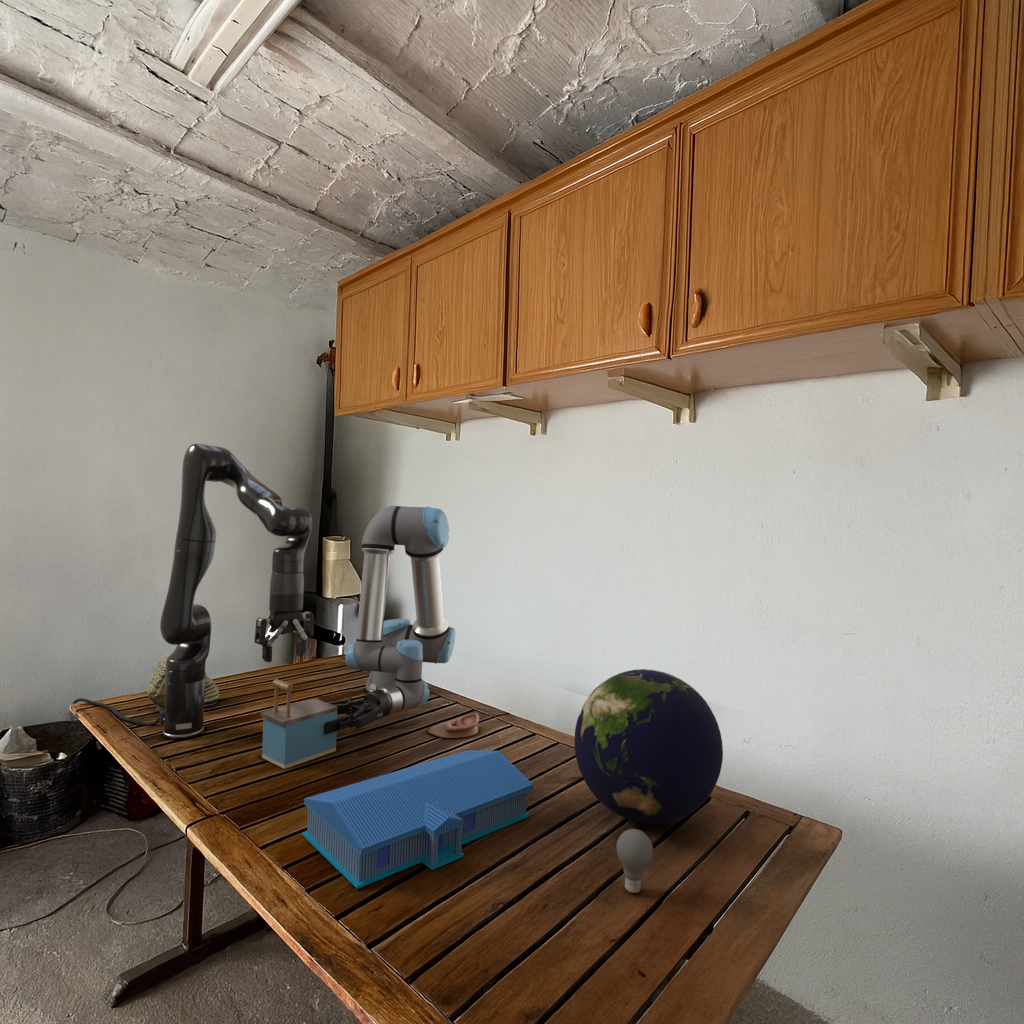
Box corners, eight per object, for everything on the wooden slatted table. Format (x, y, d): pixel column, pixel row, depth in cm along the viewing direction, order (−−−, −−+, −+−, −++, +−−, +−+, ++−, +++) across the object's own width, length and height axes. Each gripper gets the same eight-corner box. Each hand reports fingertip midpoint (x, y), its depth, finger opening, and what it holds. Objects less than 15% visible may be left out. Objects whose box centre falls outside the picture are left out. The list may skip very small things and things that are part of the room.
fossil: (144, 707, 182) (145, 655, 182) (212, 696, 194) (213, 647, 194) (151, 716, 175) (153, 662, 175) (221, 703, 188) (223, 653, 188)
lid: (283, 726, 146) (284, 688, 145) (260, 716, 151) (261, 679, 151) (337, 710, 158) (338, 675, 157) (314, 702, 163) (315, 668, 163)
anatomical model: (424, 720, 170) (437, 707, 181) (423, 735, 170) (437, 721, 181) (472, 726, 167) (482, 712, 179) (471, 741, 167) (482, 726, 179)
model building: (367, 898, 100) (369, 836, 100) (301, 833, 119) (303, 781, 118) (541, 822, 127) (543, 772, 127) (465, 778, 145) (467, 735, 145)
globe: (552, 832, 123) (559, 678, 123) (592, 773, 151) (597, 648, 150) (712, 872, 112) (721, 703, 111) (723, 800, 140) (730, 665, 139)
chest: (284, 769, 146) (286, 725, 146) (261, 757, 152) (263, 716, 152) (336, 750, 158) (337, 710, 158) (313, 740, 164) (314, 702, 163)
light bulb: (610, 879, 108) (613, 822, 108) (644, 879, 109) (647, 822, 109) (619, 902, 102) (622, 840, 102) (655, 901, 103) (658, 840, 103)
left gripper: (268, 595, 142) (265, 667, 142) (321, 589, 153) (319, 656, 154) (250, 591, 147) (247, 660, 147) (303, 586, 158) (301, 651, 158)
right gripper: (409, 726, 169) (340, 750, 151) (356, 707, 182) (286, 727, 164) (410, 698, 169) (341, 719, 151) (357, 681, 182) (287, 698, 164)
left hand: (284, 658), depth 150 cm, fingers open, 8 cm apart
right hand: (312, 723), depth 158 cm, fingers closed on chest, 9 cm apart
